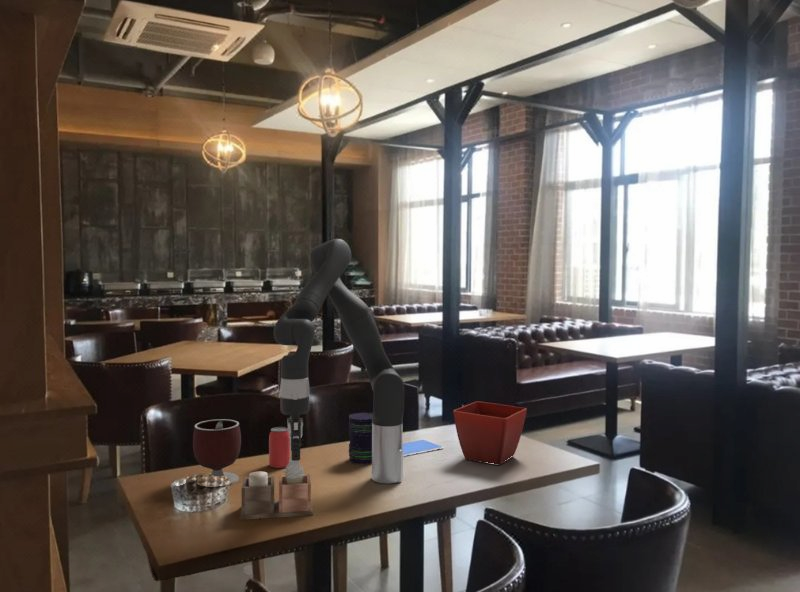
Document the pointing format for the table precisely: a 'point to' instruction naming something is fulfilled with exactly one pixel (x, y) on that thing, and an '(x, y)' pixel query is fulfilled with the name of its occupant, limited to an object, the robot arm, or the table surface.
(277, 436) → the beer can
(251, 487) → the condiment caddy
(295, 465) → the ice cream cone
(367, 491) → the table surface
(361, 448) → the storage jar
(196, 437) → the mate gourd
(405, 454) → the tablet computer
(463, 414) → the plant pot
